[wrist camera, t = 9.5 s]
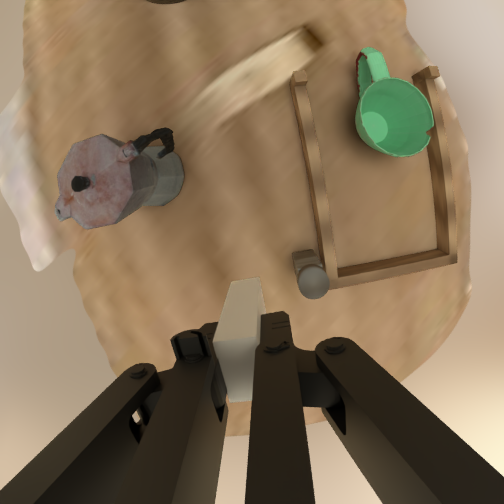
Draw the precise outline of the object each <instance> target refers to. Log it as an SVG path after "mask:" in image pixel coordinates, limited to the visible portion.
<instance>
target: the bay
mask: <svg viewBox="0 0 504 504" xmlns="http://www.w3.org/2000/svg"><path fill="white" fill-rule="evenodd" d="M439 76H440V74H439V70H438V67H437V66H428V67H426V68H425V69H423V70H421V71H420V72H418V73H417V74H415V75H413V76H412V79H413V83H414V86H415V87H416V88H418V89H419V90H420V92H421V93H422V94H423V95H424V96H425V98H426V99H427V101H428V103H429V105H430V107H431V110H432V114H433V120H434V126H433V128H432V129H431V130H430V131H428V132H426V133H427V135H429V136H431V138H430V141H429V143H428V145H427V150H428V156H429V163H430V170H431V177H432V185H433V194H434V205H435V216H436V231H437V249H435V250H430V251H426V252H421V253H416V254H411V255H406V256H401V257H396V258H391V259H386V260H381V261H376V262H370V263H365V264H360V265H355V266H349V267H344V268H338V269H337V265H336V256H335V248H334V240H333V233H332V226H331V219H330V212H329V205H328V199H327V193H326V186H325V180H324V175H323V169H322V163H321V158H320V152H319V147H318V141H317V136H316V131H315V126H314V121H313V117H312V112H311V107H310V102H309V98H308V93H307V89H306V83H307V81H308V80H307V76H306V72H305V70H301V71H293V74H292V78H291V81H290V88H291V93H292V97H293V102H294V107H295V111H296V116H297V121H298V126H299V131H300V136H301V141H302V146H303V152H304V157H305V163H306V168H307V174H308V179H309V185H310V191H311V197H312V203H313V209H314V216H315V222H316V229H317V236H318V243H319V250H320V257H321V262H320V260H319V259H318V257H317V256H316V254H315V253H314V251H313V250H307V251H302V252H296V253H292V256H293V262H294V268H295V274H296V277H297V283H298V286H299V290H300V292H301V293H302V295H303V296H305V297H306V298H309V299H318V298H321V297H322V296H324V295H325V294H326V293H327V291H328V290H332V289H337V288H342V287H347V286H353V285H358V284H363V283H368V282H373V281H378V280H382V279H387V278H392V277H397V276H401V275H406V274H411V273H415V272H420V271H424V270H428V269H433V268H437V267H441V266H446V265H450V264H454V263H457V228H456V211H455V199H454V188H453V179H452V171H451V163H450V156H449V150H448V144H447V138H446V132H445V127H444V122H443V117H442V112H441V107H440V103H439V99H438V94H437V90H436V86H435V82H434V79H435V78H437V77H439Z"/></svg>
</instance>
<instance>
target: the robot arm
mask: <svg viewBox="0 0 504 504" xmlns="http://www.w3.org/2000/svg"><path fill="white" fill-rule="evenodd" d="M147 1H150V2H154V3H161V4H168V3H176V2H181V1H184V0H147ZM170 341H171V344H172V347H173V350H174V353H175V356H176V359H177V360H176V362H175V364H174V367H173V368H172V369H169V370H165V371H162V372H158V373H157V370H156V367H155V366H154V365H153V364H149V363H139V364H135V365H134V366H132V367H130V368H128V369H127V370H125V371H124V372H123V373H122V374H121V375H120V376H119V377H118V378H117V379H116V380H115V381H114V382H113V383H112V384H111V385H110V386H109V387H108V388H106V389H105V391H104V392H102V393H101V394H100V395H99V396H98V397H97V398H96V399H95V400H94V401H93V402H92V403H91V404H90V405H89V406H88V407H87V408H86V409H85V410H84V411H82V412H81V413H80V414H79V416H77V417H76V418H75V419H74V420H73V421H72V422H71V423H70V424H69V425H68V426H67V427H66V428H65V429H64V430H63V431H62V432H61V433H60V434H59V435H57V436H56V437H55V438H54V439H53V440H52V441H51V442H50V443H49V444H48V445H47V446H46V447H45V448H44V449H43V450H42V451H41V452H40V453H39V454H38V455H37V456H36V457H35V458H34V459H33V460H32V461H30V463H28V464H27V465H26V466H25V467H24V468H23V469H22V470H21V471H20V472H19V473H18V474H17V475H16V476H15V477H14V478H13V479H12V480H11V481H10V482H9V483H8V484H7V485H6V486H4V487H3V488H2V490H0V504H215V498H216V491H217V484H218V477H219V471H220V464H221V458H222V451H223V444H224V437H225V431H226V424H227V417H228V407H227V403H226V394H227V395H228V398H229V402H230V403H233V402H243V401H252V407H251V421H250V436H249V450H248V465H247V479H246V493H245V504H315V496H314V488H313V480H312V472H311V464H310V456H309V449H308V442H307V434H306V426H305V419H304V412H303V407H321V409H322V413H323V414H324V416H325V417H326V419H327V420H328V422H329V424H330V425H331V427H332V428H333V430H334V431H335V433H336V434H337V436H338V437H339V439H340V440H341V442H342V443H343V445H344V446H345V448H346V449H347V451H348V452H349V454H350V455H351V457H352V459H353V460H354V462H355V463H356V465H357V466H358V468H359V469H360V471H361V472H362V473H363V475H364V476H365V478H366V479H367V481H368V482H369V484H370V485H371V487H372V488H373V490H374V491H375V493H376V494H377V496H378V497H379V498H380V500H381V502H382V503H383V504H504V477H503V476H502V475H501V474H500V473H499V472H498V471H497V470H496V469H494V468H493V467H492V466H491V465H490V464H489V463H488V462H487V461H486V460H485V459H483V458H482V457H481V456H480V455H479V454H478V453H477V452H476V451H474V450H473V449H472V448H471V447H470V446H469V445H468V444H467V443H466V442H465V441H463V440H462V439H461V438H460V437H459V436H458V435H457V434H456V433H455V432H453V431H452V430H451V429H450V428H449V427H448V426H447V425H446V424H445V423H443V422H442V421H441V420H440V419H439V418H438V417H437V416H436V415H435V414H434V413H432V412H431V411H430V410H429V409H428V408H427V407H426V406H425V405H423V404H422V403H421V402H420V401H419V400H418V399H417V398H416V397H415V396H414V395H412V394H411V393H410V392H409V391H408V390H407V389H406V388H405V387H404V386H403V385H401V384H400V383H399V382H398V381H397V380H396V379H395V378H394V377H393V376H391V375H390V374H389V373H388V372H387V371H386V370H385V369H384V368H383V367H381V366H380V365H379V364H378V363H377V362H376V361H375V360H374V359H373V358H371V357H370V356H369V355H368V354H367V353H366V352H365V351H364V350H363V349H361V348H360V347H359V346H358V345H357V344H356V343H355V342H354V341H352V340H350V339H349V338H344V337H332V338H329V339H326V340H324V341H321V342H320V343H319V344H318V345H317V346H316V348H315V351H308V350H302V349H299V348H297V347H296V346H295V345H294V343H293V339H292V332H291V326H290V320H289V315H288V314H287V313H285V312H284V311H280V312H274V313H268V314H266V309H265V304H264V299H263V293H262V288H261V283H260V278H259V277H255V278H249V279H243V280H237V281H231V284H230V287H229V290H228V293H227V296H226V300H225V303H224V306H223V309H222V313H221V316H220V319H219V322H213V323H206V324H204V325H203V326H202V327H201V328H200V329H192V330H187V331H183V332H181V333H178V334H177V335H175V336H173V337H172V338H171V340H170ZM135 411H137V413H138V415H139V417H140V420H139V422H137V423H136V422H135V421H134V419H133V417H132V415H133V414H134V412H135Z"/></svg>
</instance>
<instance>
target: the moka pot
mask: <svg viewBox="0 0 504 504" xmlns="http://www.w3.org/2000/svg"><path fill="white" fill-rule="evenodd" d="M172 133H173V131H172V130H171V129H169V128H161V129H156V130H154V131H153V132H152V133H150V134H148V135H143V136H140V137H139V138H138V139H136V140H135V141H132V140H130V141H128V142H127V143H124V142H121V141H119V140H117V139H114V138H112V137H109V136H107V135H104V134H100V135H97V136H94V137H92V138H89V139H86V140H83V141H80V142H77V143H75V144H73V145H72V147H71V149H70V151H69V152H68V154H67V156H66V158H65V160H64V162H63V164H62V166H61V168H60V170H59V172H58V175H57V178H58V186H59V193H60V196H59V198H58V200H57V202H56V204H55V214H56V216H57V218H58V219H59V220H60V221H63V220H65V219H68V218H71V217H72V218H73V219H74V220H75V221H76V222H77V223H79V224H80V225H81V226H82V227H83V228H85V229H92V228H97V227H102V226H107V225H112V224H117V223H118V222H119V221H121V220H122V219H124V218H125V217H127V216H128V215H130V214H131V213H133V212H134V211H136V210H137V209H139V208H140V207H142V206H164V205H166V204H167V203H168V202H170V201H171V200H172V199H174V198H175V197H176V196H177V195H178V194H179V192H180V190H181V187H182V184H183V180H184V170H183V166H182V163H181V160H180V157H179V156H178V155H177V154H176V153H174V152H173V150H174V140H173V135H172ZM159 138H160V139H161V140H162V143H163V145H164V146H152V147H147V146H148V145H149V144H150V143H151V142H152V141H154V140H156V139H159Z"/></svg>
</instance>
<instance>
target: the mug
mask: <svg viewBox="0 0 504 504" xmlns="http://www.w3.org/2000/svg"><path fill="white" fill-rule="evenodd" d="M356 74H357V87H358V91H359V96H360V100H359V103H358V106H357V109H356V116H355V124H356V130H357V132H358V134H359V136H360V138H361V139H362V140H363V141H364V142H365V143H366V144H367V145H369V146H370V147H372V148H373V149H375V150H377V151H380V152H382V153H384V154H387V155H391V156H394V157H409V156H412V155H415V154H417V153H419V152H421V151H422V150H423V149H424V148H425V147H426V146H427V145H428V143H429V141H430V138H431V136H429V135H427V133H426V132H428V131H430V130H431V129H432V128H433V126H434V120H433V114H432V110H431V107H430V105H429V103H428V101H427V99H426V98H425V96H424V95H423V94H422V93H421V92H420V90H419V89H418V88H416V87H415V86H414V85H412V84H411V83H409V82H408V81H405V80H402V79H399V78H390V75H389V72H388V69H387V65H386V62H385V60H384V58H383V55H382V53H381V52H379V51H377V50H375V49H374V48H371V47H367V48H364V49H362V50H361V51H360V53H359V55H358V57H357V59H356ZM372 78H373V83H372Z"/></svg>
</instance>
